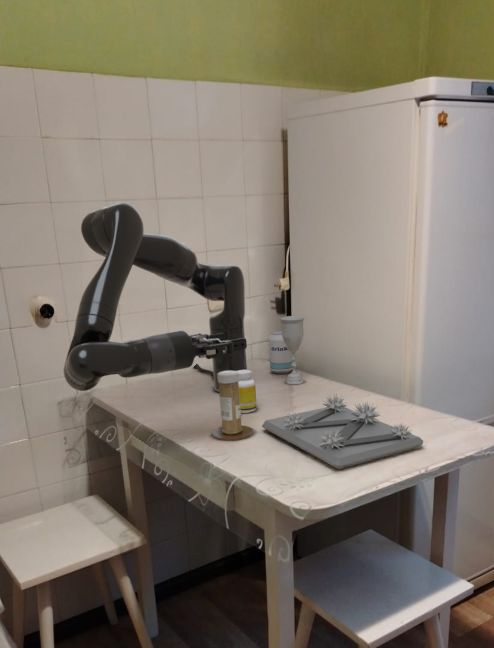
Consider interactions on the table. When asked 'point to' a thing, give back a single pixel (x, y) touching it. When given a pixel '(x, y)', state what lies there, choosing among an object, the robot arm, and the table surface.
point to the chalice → (293, 342)
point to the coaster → (244, 434)
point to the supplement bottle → (247, 391)
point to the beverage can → (279, 354)
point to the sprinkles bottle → (230, 402)
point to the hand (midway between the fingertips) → (235, 340)
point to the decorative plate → (343, 434)
